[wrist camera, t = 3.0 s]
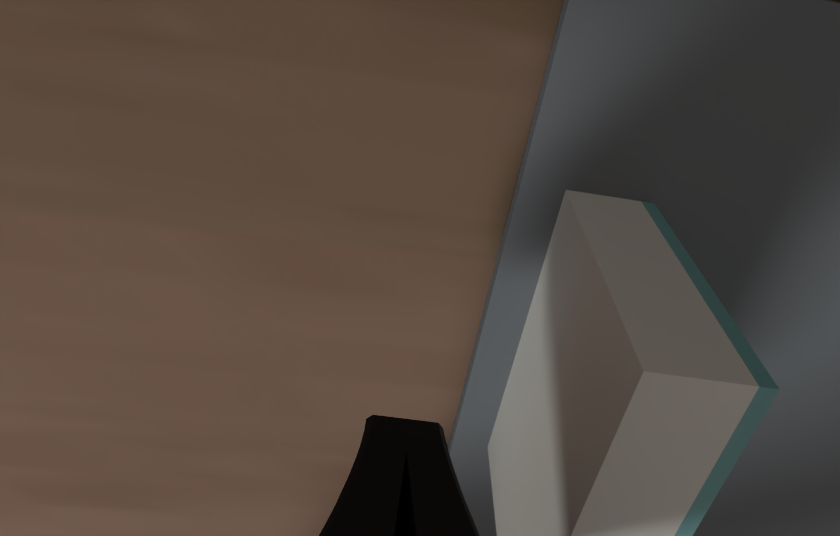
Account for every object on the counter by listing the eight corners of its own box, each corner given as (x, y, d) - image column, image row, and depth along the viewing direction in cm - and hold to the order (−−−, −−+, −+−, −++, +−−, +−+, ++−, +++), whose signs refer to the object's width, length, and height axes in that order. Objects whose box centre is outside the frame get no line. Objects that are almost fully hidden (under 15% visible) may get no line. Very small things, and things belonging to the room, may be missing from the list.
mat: (808, 575, 22) (814, 585, 22) (426, 532, 21) (426, 543, 21) (1204, 68, 13) (1224, 73, 13) (576, -46, 12) (580, -44, 12)
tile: (556, 455, 19) (606, 680, 13) (487, 447, 18) (510, 671, 13) (654, 203, 14) (779, 388, 9) (565, 189, 14) (643, 371, 9)
